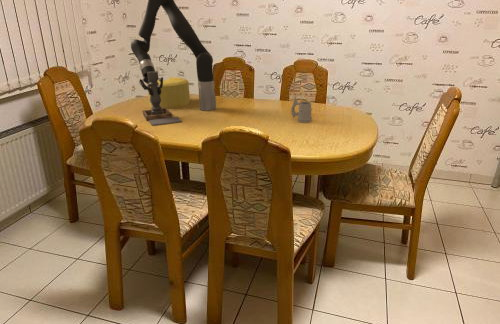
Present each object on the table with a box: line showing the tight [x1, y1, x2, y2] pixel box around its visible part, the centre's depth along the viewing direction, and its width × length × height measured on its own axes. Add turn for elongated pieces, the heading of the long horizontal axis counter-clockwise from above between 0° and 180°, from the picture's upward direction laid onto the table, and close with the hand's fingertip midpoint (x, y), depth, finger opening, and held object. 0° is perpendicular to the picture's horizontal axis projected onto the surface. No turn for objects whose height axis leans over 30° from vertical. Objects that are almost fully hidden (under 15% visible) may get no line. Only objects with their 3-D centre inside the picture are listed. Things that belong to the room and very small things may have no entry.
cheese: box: [147, 76, 191, 109], centre depth 242 cm, size 26×26×15 cm
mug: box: [290, 97, 313, 124], centre depth 202 cm, size 8×12×12 cm, turn 61°
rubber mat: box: [148, 116, 182, 127], centre depth 206 cm, size 16×10×1 cm, turn 113°
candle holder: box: [147, 70, 164, 115], centre depth 211 cm, size 6×6×25 cm
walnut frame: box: [142, 108, 173, 122], centre depth 216 cm, size 14×14×2 cm
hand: (155, 94), depth 210 cm, fingers closed on candle holder, 4 cm apart
